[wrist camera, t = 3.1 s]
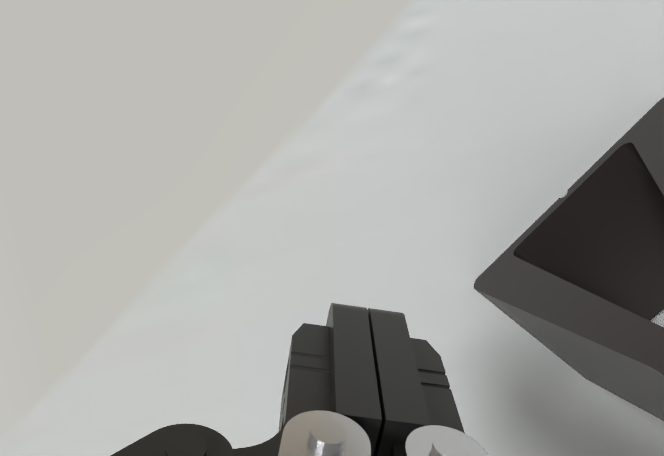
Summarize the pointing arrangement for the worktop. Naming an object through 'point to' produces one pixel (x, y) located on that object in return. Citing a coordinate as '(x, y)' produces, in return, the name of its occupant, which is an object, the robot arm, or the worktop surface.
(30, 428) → the worktop surface
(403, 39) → the worktop surface
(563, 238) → the phone stand
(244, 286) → the worktop surface
